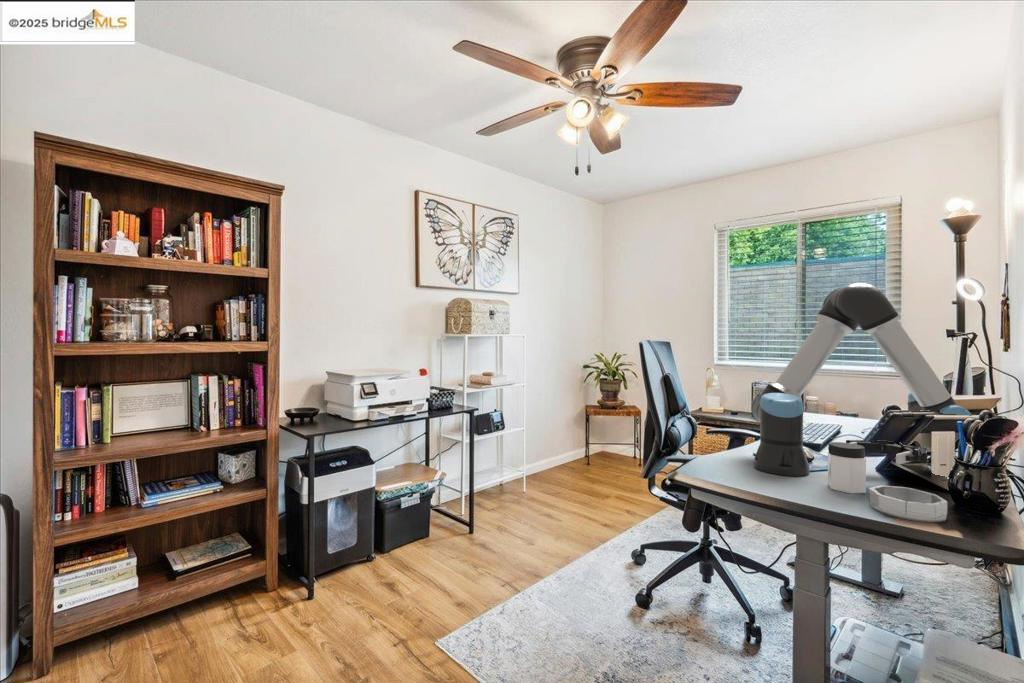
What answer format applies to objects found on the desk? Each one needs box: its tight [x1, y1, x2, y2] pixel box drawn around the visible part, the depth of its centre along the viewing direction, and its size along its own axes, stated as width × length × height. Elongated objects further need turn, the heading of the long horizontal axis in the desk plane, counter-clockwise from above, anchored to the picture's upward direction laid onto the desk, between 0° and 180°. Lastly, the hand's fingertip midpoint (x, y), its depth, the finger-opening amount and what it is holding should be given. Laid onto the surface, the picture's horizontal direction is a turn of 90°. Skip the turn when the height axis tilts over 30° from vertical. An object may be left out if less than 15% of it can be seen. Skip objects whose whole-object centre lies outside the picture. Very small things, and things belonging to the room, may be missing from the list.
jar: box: [827, 441, 867, 495], centre depth 127 cm, size 9×8×12 cm
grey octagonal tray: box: [869, 484, 948, 523], centre depth 111 cm, size 14×14×4 cm
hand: (868, 453), depth 132 cm, fingers open, 13 cm apart
